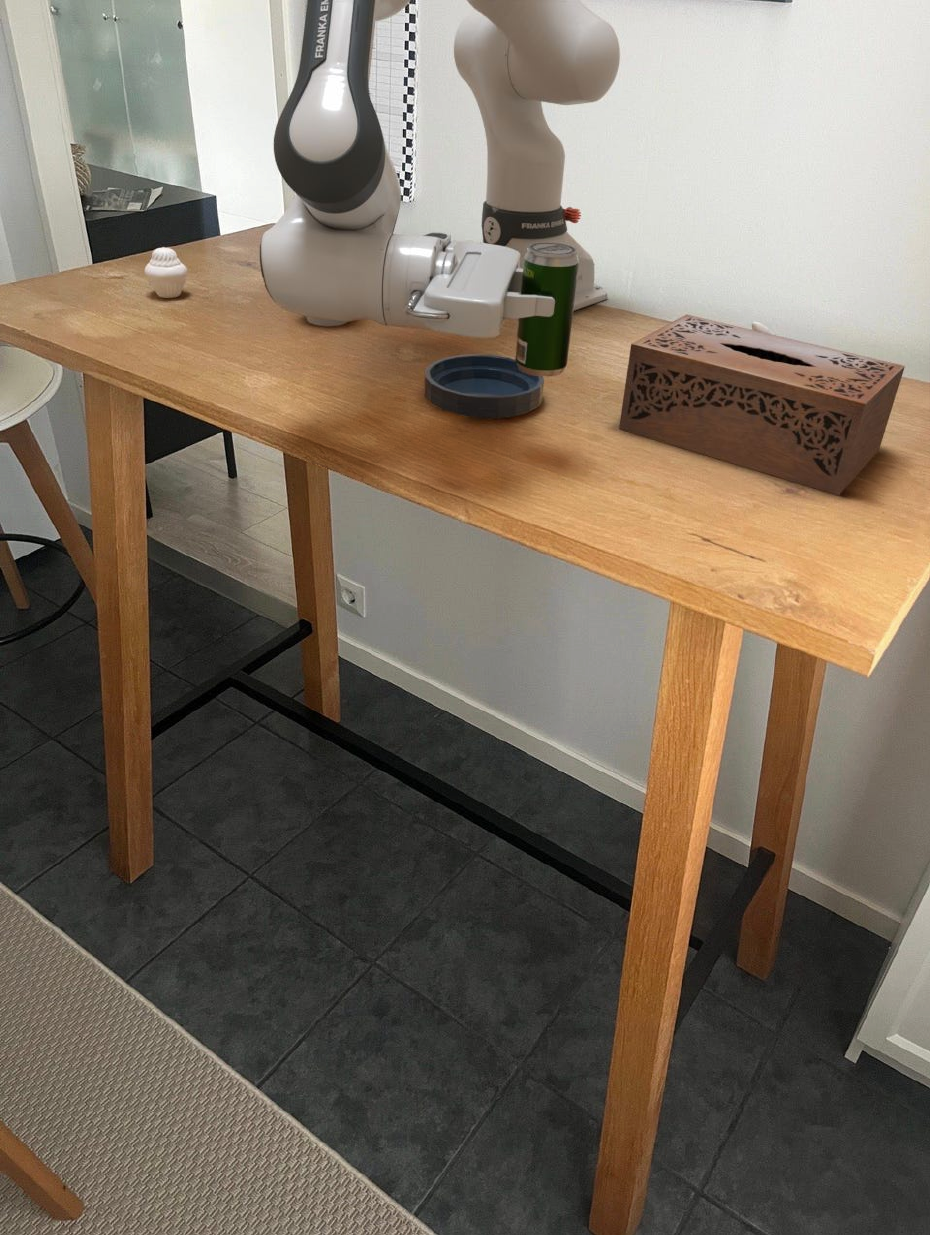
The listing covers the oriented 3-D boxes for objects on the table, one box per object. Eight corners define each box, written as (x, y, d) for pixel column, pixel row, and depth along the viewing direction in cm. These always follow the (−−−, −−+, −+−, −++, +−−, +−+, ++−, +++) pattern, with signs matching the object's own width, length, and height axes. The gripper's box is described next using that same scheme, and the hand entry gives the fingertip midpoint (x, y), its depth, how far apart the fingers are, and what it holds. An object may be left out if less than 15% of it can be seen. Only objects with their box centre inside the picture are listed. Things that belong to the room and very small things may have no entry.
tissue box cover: (878, 451, 112) (905, 366, 106) (838, 495, 102) (865, 404, 96) (672, 393, 124) (686, 314, 118) (618, 428, 114) (631, 343, 108)
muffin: (198, 294, 148) (193, 246, 144) (168, 303, 144) (162, 254, 140) (169, 286, 151) (163, 239, 147) (138, 295, 147) (131, 246, 143)
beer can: (535, 381, 99) (547, 258, 92) (504, 363, 102) (514, 244, 96) (577, 372, 101) (591, 252, 95) (545, 356, 105) (557, 239, 98)
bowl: (489, 369, 128) (491, 347, 126) (565, 405, 119) (568, 381, 117) (401, 391, 120) (401, 368, 118) (474, 431, 111) (476, 406, 109)
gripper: (400, 278, 89) (553, 293, 87) (437, 227, 105) (566, 239, 104) (399, 347, 92) (546, 362, 91) (435, 287, 109) (559, 299, 108)
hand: (557, 296), depth 98 cm, fingers closed on beer can, 5 cm apart
